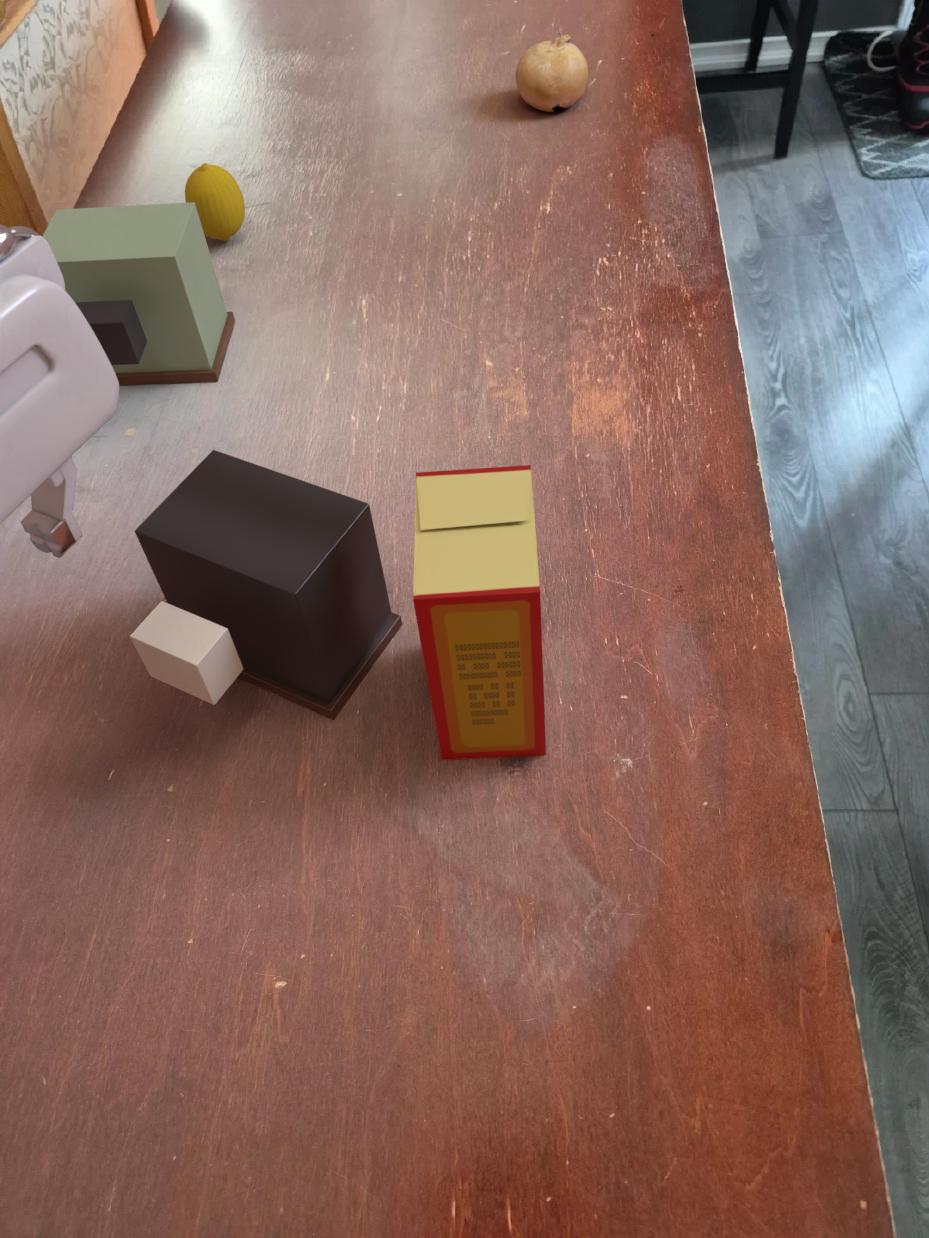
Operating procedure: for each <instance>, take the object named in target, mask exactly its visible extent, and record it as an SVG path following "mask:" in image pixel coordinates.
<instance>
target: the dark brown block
mask: <svg viewBox="0 0 929 1238" xmlns="http://www.w3.org/2000/svg"><path fill="white" fill-rule="evenodd" d="M75 303H76V305H77V306H78V308H79V309H80V310H81V312H82V314H83V315H84V317H85V318H86V320H87V322H88V323H89V325H90V327H91V328H92V330H93V331H94V333H95V335H96V337H97V339H98V340H99V342H100V344H101V346H102V348H103V350H104V352H105V353H106V355H107V357H108V359H109V361H110V363H111V365H131V364H139V363H140V360H141V357H142V354H143V352H144V349H145V346H146V344H147V339H146V337H145V334H144V331H143V329H142V326H141V323H140V321H139V318H138V315H137V312H136V310H135V307H134V304H133V302H132V300H117V301H95V302H75Z"/></svg>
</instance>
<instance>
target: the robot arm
mask: <svg viewBox="0 0 929 1238" xmlns="http://www.w3.org/2000/svg"><path fill="white" fill-rule="evenodd" d="M42 236H43V235H40V233H38V232H37V231H35V230H34V229H32V228H30V227H27V226H23V225H15V226H9V227H8V226H6V225H5V224H3V223H0V525H2V523H4V522H5V520H7V519H8V518H9V516H11V515H12V514H13V513H14V512H15V511H16V510H17V509H18V508H19V507H21V505H23V503H24V502H26V500H28V499H29V498H30V500H31V501H30V502H31V503H30V505H31V510H30V512H28V513H27V515H25V517H24V518H23V519H22V520H20V524H21V525H22V527H23V529H24V531H25V532H26V533H28V534H29V540H30V542H31V543H32V545H33V546H34V547H35V548H36V549H37V550H38V551H41V552H42V553H45V554H48V553H49V554H50V553H51V554H52V556H53V557H54V558H55V557H56V558H58V559H60V558H62V557H63V556H64V555H65V554H66V553H67V552H68V551H69V550H70V549H71V548H72V547H73V546H74V545H75V544H77V542H78V541H79V540H80V539H81V538H82V537H83V532H82V530H81V528H80V525H79V524H78V522H77V520H76V518H75V516H74V513H73V511H74V507H75V499H76V498H75V497H76V486H77V485H76V484H77V476H78V475H77V474H78V468H77V467H76V464H75V462H74V460H73V455H74V454H75V453H77V451H78V450H80V448H82V447H83V446H84V445H85V444H86V443H87V442H88V441H89V440H90V439H92V437H93V436H94V435H95V434H97V433H98V432H99V430H101V429H102V427H104V426H105V425H106V424H107V423H108V422H109V421H110V420H111V419H112V418H113V417H114V416H115V414H116V412H117V409H118V408H117V407H118V405H119V404H118V403H119V402H118V401H119V394H120V385H119V382H118V379H117V376H116V374H115V372H114V370H113V367H112V365H111V363H110V361H109V359H108V357H107V355H106V353H105V352H104V350H103V348H102V346H101V344H100V342H99V340H98V339H97V337H96V335H95V333H94V331H93V330H92V328H91V327H90V325H89V323H88V322H87V320H86V318H85V317H84V315H83V314H82V312H81V310H80V309H79V308H78V306H77V305H76V303H75V302H74V300H73V299H72V298H71V297H70V296H69V294H68V293H67V292H66V291H65V283H64V278H63V275H62V273H61V270H60V268H59V265H58V263H57V261H56V258H55V256H54V253H53V251H52V249H51V247H50V245H49V244H48V242H47V241H46V240H45V239H44V238H43V237H42Z"/></svg>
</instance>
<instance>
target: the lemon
mask: <svg viewBox="0 0 929 1238" xmlns="http://www.w3.org/2000/svg"><path fill="white" fill-rule="evenodd" d="M184 195H185V196H184V197H185V199H184V200H185V203H191V202H195V205H196V209H197V212H198V215H199V219H200V222H201V226H202V229H203V232H204V236H205V237H207V238H210V239H213V240H220V241H221V242H224V243H225V242H228V241H229V240H230V239H231V237H233V236H235V235H236V234H237V233H238V232H239V231H240V229H241V228H242V226H243V224H244V221H245V217H246V205H245V199H244V195H243V192H242V190H241V188H240V186H239V184H238V183H237V181H236V178H235V177H234V176H233V175H232V174H231V172H229V171H228V170H227V169H225V168H224V167H221V166H219V165H217V164H209V163H207V162H205V163H202V164H201V165H200V166H198V167H197V168H195V169H194V170H193V171H192V172H191V174H190V175H189V176H188V178H187V180H186V184H185V187H184Z"/></svg>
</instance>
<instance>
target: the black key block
mask: <svg viewBox="0 0 929 1238" xmlns="http://www.w3.org/2000/svg"><path fill="white" fill-rule="evenodd" d="M134 533H135V535H136V538H137V540H138V543H139V544H140V546H141V549H142V552H143V553H144V555H145V557H146V559H147V562H148V564H149V566H150V568H151V570H152V573H153V575H154V577H155V579H156V583H157V584H158V586H159V588H160V590H161V593H162V595H163V597H164V599H165V602H166V603H168V604H170V605H173V606H175V607H177V608H180V609H182V610H185V611H187V612H189V613H192V614H194V615H197V616H199V617H201V618H204V619H206V620H208V621H211V622H213V623H216V624H218V625H220V626H223V627H225V628H227V629H228V631H229V633H230V636H231V638H232V641H233V643H234V646H235V648H236V651H237V653H238V656H239V658H240V661H241V663H242V666H243V668H244V669H243V670H242V672H241V673H240V674H239V675H238V677H237V678H238V679H241V680H243V681H245V682H248V683H249V684H252V685H254V686H257V687H259V688H261V689H263V690H266V691H268V692H270V693H272V694H274V695H277V696H279V697H282V698H283V699H286V700H288V701H290V702H293V703H295V704H298V705H299V706H302V707H304V708H307V709H309V710H311V711H313V712H316V713H317V714H320V715H321V716H322V715H323V716H325V717H327V718H329V719H332V720H334V719H335V718H336V717H337V716H338V714H339V713H340V711H341V710H342V708H344V706H345V704H346V703H347V701H348V700H349V699H350V698H351V696H352V694H353V693H354V692H355V691H356V689H357V688H358V686H359V685H360V684H361V683H362V681H363V680H364V679H365V677H366V676H367V674H368V673H369V671H370V670H371V669H372V667H373V666H374V664H375V663H376V662H377V660H378V659H379V657H380V656H381V655H382V653H383V652H384V651H385V650H386V648H387V646H388V645H389V643H390V642H391V641H392V640H393V638H394V636H395V635H396V634H397V633H398V631H399V630H400V629H401V627H402V625H403V621H402V616H401V615H400V614H397V613H394V612H392V608H391V604H390V599H389V594H388V589H387V584H386V578H385V575H384V570H383V564H382V560H381V555H380V554H381V553H380V550H379V544H378V541H377V536H376V530H375V526H374V521H373V516H372V511H371V506H370V503H368V502H365V501H362V500H360V499H358V498H357V499H356V498H354V497H351V496H348V495H346V494H342V493H340V492H337V491H334V490H331V489H328V488H325V487H323V486H319V485H316V484H313V483H311V482H308V481H305V480H302V479H299V478H296V477H293V476H290V475H288V474H284V473H281V472H279V471H276V470H273V469H270V468H267V467H265V466H263V465H258V464H256V463H253V462H250V461H247V460H245V459H241V458H239V457H236V456H233V455H230V454H227V453H225V452H221V451H218V450H215V449H212V450H211V451H210V452H209V454H207V456H205V457H204V459H202V461H201V462H200V463H198V465H197V466H196V467H195V468H194V469H193V470H192V471H190V473H189V474H188V475H187V476H186V477H185V478H184V479H183V480H182V481H181V482H180V483H179V484H178V485H177V486H176V487H175V489H173V491H171V492H170V494H169V495H167V497H165V498H164V500H163V501H162V502H161V503H160V504H159V505H157V506H156V508H155V509H154V510H153V511H152V512H151V513H150V514H149V515H148V516H147V517H146V518H145V519H144V521H143V522H141V524H139V526H138V527H137V528H136V529H134Z"/></svg>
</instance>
